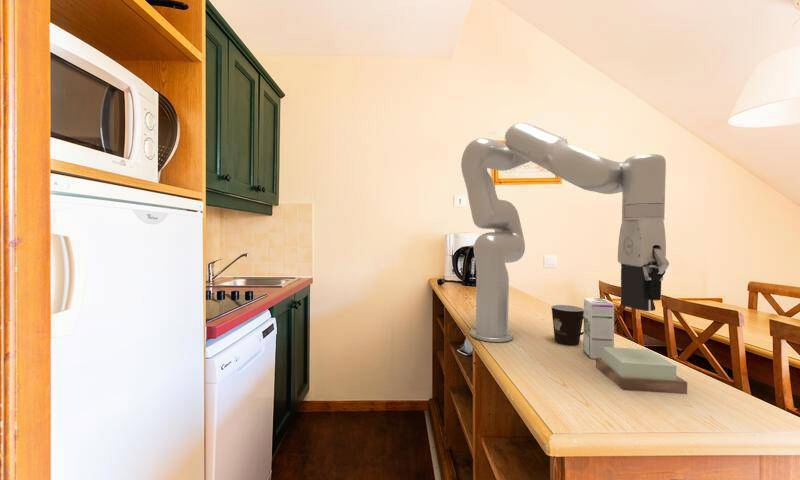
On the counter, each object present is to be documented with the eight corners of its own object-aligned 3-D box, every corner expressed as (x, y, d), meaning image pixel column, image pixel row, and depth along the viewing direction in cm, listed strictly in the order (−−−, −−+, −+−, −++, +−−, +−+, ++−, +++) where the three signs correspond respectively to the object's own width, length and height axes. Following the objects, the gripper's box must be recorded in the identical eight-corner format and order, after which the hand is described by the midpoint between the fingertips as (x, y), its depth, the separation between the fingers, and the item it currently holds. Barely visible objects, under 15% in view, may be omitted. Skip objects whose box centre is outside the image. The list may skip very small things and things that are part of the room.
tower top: (601, 359, 81) (601, 346, 81) (648, 362, 79) (648, 349, 79) (621, 377, 71) (622, 362, 71) (676, 380, 69) (676, 366, 69)
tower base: (595, 370, 82) (596, 357, 82) (649, 372, 81) (650, 360, 81) (622, 393, 70) (623, 378, 70) (686, 397, 69) (687, 382, 69)
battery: (662, 312, 72) (663, 257, 72) (646, 312, 71) (648, 257, 71) (633, 305, 79) (634, 255, 79) (619, 305, 78) (620, 255, 78)
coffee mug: (547, 336, 106) (547, 304, 105) (577, 338, 104) (577, 305, 104) (559, 349, 94) (559, 313, 94) (592, 351, 93) (593, 314, 93)
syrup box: (614, 360, 87) (616, 302, 86) (588, 358, 88) (590, 301, 87) (605, 352, 92) (607, 298, 92) (581, 351, 93) (583, 297, 93)
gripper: (604, 215, 84) (603, 289, 84) (648, 211, 66) (646, 303, 67) (638, 215, 83) (636, 290, 83) (690, 211, 65) (688, 305, 66)
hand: (640, 295), depth 75 cm, fingers closed on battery, 6 cm apart
